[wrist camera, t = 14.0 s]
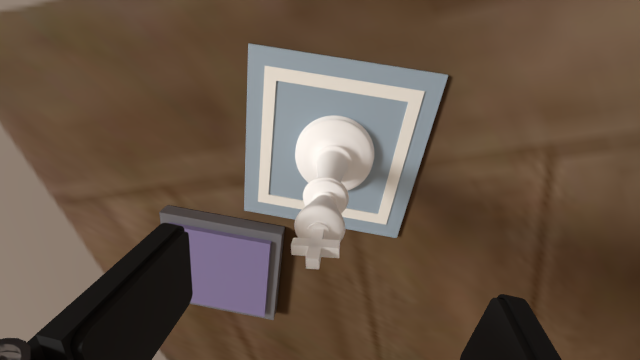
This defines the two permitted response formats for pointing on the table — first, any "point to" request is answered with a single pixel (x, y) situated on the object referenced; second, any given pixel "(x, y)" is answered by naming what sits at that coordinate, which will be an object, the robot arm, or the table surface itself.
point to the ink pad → (231, 261)
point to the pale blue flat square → (342, 100)
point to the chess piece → (328, 183)
